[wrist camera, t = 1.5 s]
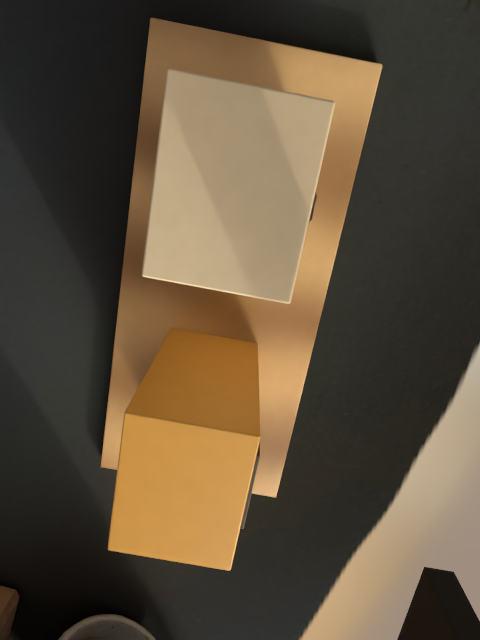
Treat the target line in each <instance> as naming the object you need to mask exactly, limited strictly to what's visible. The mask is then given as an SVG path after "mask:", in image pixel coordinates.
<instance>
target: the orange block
mask: <svg viewBox="0 0 480 640" xmlns="http://www.w3.org/2000/svg"><path fill="white" fill-rule="evenodd" d="M260 437H261V433H260V399H259V364H258V344H257V343H253V342H247V341H242V340H236V339H231V338H225V337H220V336H214V335H209V334H204V333H198V332H193V331H187V330H182V329H176V328H171V330H170V332H169V333H168V335H167V337H166V339H165V341H164V342H163V344H162V346H161V348H160V349H159V351H158V353H157V355H156V357H155V358H154V360H153V362H152V364H151V366H150V367H149V369H148V371H147V373H146V375H145V376H144V378H143V380H142V382H141V384H140V385H139V387H138V389H137V391H136V393H135V394H134V396H133V398H132V400H131V402H130V403H129V405H128V407H127V409H126V411H125V412H124V419H123V427H122V435H121V444H120V452H119V460H118V468H117V476H116V484H115V492H114V500H113V508H112V516H111V524H110V532H109V541H108V550H111V551H117V552H123V553H129V554H134V555H140V556H146V557H152V558H158V559H164V560H170V561H176V562H181V563H187V564H193V565H199V566H205V567H211V568H217V569H223V570H229V571H230V570H231V567H232V562H233V558H234V553H235V549H236V544H237V540H238V535H239V531H240V528H242V529H243V528H244V524H245V520H246V515H247V511H248V507H249V502H250V498H251V493H252V489H253V485H254V480H255V476H256V471H257V467H258V463H259V458H260Z"/></svg>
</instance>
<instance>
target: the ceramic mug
mask: <svg viewBox="0 0 480 640" xmlns="http://www.w3.org/2000/svg"><path fill="white" fill-rule="evenodd" d="M58 640H156V639H155V638H154V637H153V636H152V635H151V634H150V632H149V631H148V630H146V629H145V628H144V627H142V626H141V625H140V624H138V623H137V622H135V621H133V620H130V619H128V618H126V617H124V616H121V615H115V614H102V615H94V616H91V617H88V618H86V619H83V620H82V621H80V622H78V623H77V624H75V625H73V626H72V627H71V628H69V629H68V630H67V631H65V632H64V633H63V635H62V636H61V637H60V638H59V639H58Z"/></svg>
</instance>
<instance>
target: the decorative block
mask: <svg viewBox="0 0 480 640" xmlns="http://www.w3.org/2000/svg"><path fill="white" fill-rule="evenodd" d="M19 598H20V597H19V595H18V592H17V590H15V589H11V588H7V587H4V586H0V640H8V639H9V636H10V632H11V628H12V624H13V620H14V617H15V613H16V609H17V605H18V601H19Z"/></svg>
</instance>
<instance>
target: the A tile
mask: <svg viewBox="0 0 480 640" xmlns="http://www.w3.org/2000/svg"><path fill="white" fill-rule="evenodd" d="M334 107H335V102H334V101H332V100H327V99H322V98H317V97H312V96H307V95H302V94H297V93H292V92H287V91H282V90H277V89H272V88H267V87H262V86H257V85H252V84H247V83H242V82H237V81H232V80H227V79H222V78H217V77H212V76H207V75H202V74H197V73H192V72H187V71H182V70H177V69H171V68H169V69H168V70H167V73H166V81H165V89H164V97H163V105H162V113H161V121H160V129H159V137H158V145H157V154H156V162H155V170H154V178H153V186H152V194H151V202H150V210H149V218H148V226H147V234H146V242H145V251H144V259H143V267H142V276H143V277H147V278H152V279H158V280H163V281H168V282H174V283H179V284H185V285H190V286H195V287H201V288H206V289H211V290H217V291H222V292H228V293H233V294H238V295H244V296H249V297H254V298H260V299H265V300H270V301H276V302H281V303H287V304H289V303H290V302H291V299H292V295H293V290H294V286H295V281H296V277H297V272H298V268H299V263H300V259H301V254H302V250H303V246H304V241H305V237H306V232H307V228H308V223H309V222H310V221H311V220H312V217H313V212H314V207H315V203H316V199H317V195H316V188H317V183H318V179H319V174H320V170H321V165H322V161H323V156H324V152H325V148H326V143H327V139H328V134H329V130H330V125H331V121H332V116H333V112H334Z"/></svg>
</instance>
